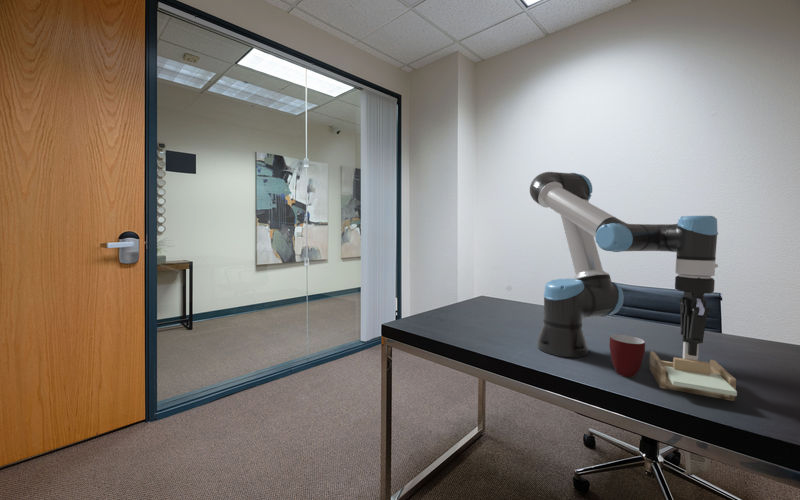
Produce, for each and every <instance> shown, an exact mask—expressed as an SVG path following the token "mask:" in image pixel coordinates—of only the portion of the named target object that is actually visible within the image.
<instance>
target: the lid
mask: <svg viewBox="0 0 800 500" xmlns="http://www.w3.org/2000/svg"><path fill="white" fill-rule="evenodd" d="M672 362H673V367H668V366H665V367H666V375H667V377H668V378H669V380H670V381H671V383H672V384H673V385H675V386H681V387H687V388H693V389H698V390H704V391H710V392H716V393H722V394H727V395H733V396H735V397H737V396H738V391H737V390H735V389H734V388H733V387H732V386H730V385H729V384H728V383H727V382H726V381H725V380H724V379H723V378H722V377H721V376H720V375H719V374H714V373H710V370H711V364H710V361H709V362H708V361H703V360H698V361H697V360H690V359H683V357H682V358H681V357H673V359H672Z"/></svg>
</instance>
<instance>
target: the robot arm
mask: <svg viewBox="0 0 800 500" xmlns="http://www.w3.org/2000/svg"><path fill="white" fill-rule="evenodd" d="M592 193H593V184H592V182H591V180H590V178H588V177H587V176H586V175H584V174H582V173H581V174H580V173H576V172H557V171H556V172H555V171H545V172H542V173H539V174H538V175H536V176H535V177H534V178H533V179H532V181H531V183H530V186H529V194H530V197H531V199H532V200H533V201H534V202H535V203H536V204H538V205H539V206H541V207H542V208H546V209H547V208H549V209H551V210H552V211H554V212H555V213H556V214H559V215H560V218H561V221H562V225H563V226H562V227H563V230H564V233H565V239H566V242H567V245H568V249H569V254H570V258H571V260H572V265H573V269H574V273H575V276H574V277H573V278H558V279H552V280H550V281H547V282H546V283H545V285H544V292H543V324H542V328H541V329H540V332H539V334H538V337H537V341H536V342H537V343H536V345H537V348H538V349H539V350H541V351H542V352H544V353H547V354H550V355H554V356H557V357H564V358H581V357H585V356H587V355H588V344H587V341H586V338H585V335H584V331H583V318H597V317H600V318H601V317H607V316H612V315H614V314H617V313H618V312H619V311H620V310H621V308H622V306H623V304H624V299H625V296H624V293H623V292H624V291H623V289H622V288H621V286H620V285H618V284H617V283H616V282H614V281H612V279H611V275H610V273H609V272H606V271H605V270H604V269H603V266H602V262H601V258H600V255H599V251H598V247H599V248H600V249H601V250H604V251H605V252H613V253H620V252H670V253H676V259H675V274H677V275H676V276H675V278H674V280H675V281H674V282H675V283H674V289H675V290H676V291H679V292H683V294H682V295H683V297H682V296H681V298H679V299H678V302H679V308H680V311H679V312H680V335H681V336H682V343H683V344H682V345H683V346H682V358H683V359H690V360H697V361H699V351H700V350H699V349H700V348H699V347H700V344H703V343H704V336H705V330H706V324H707V317H708V314H709V313H710V309H709V307H707V302H706V301H707V300H706V299H705V294H709V295H710V294H712V293H714V292H715V279H714V278H713V277H714V276H715V275H716V274H715V272H716V269H717V268H718V267H719V264H718V263H716V259H717V258H716V256H717V254H716V253H717V241H718V235H719V232H718V219H717V217H715V216H713V215H683V216H680V217H678V221H677V222H676V223H674V224H672V223H671V224H667V223H666V224H661V223H660V224H655V223H653V224H646V223H641V224H640V223H635V224H634V223H626V222H624V220H621V219H619V218H617V217H616V216H614V215H612V214H610V213H608V212H606V211H605V210H603V209H601V208H600V207H598V206H596V205H594V204H592V203H591V202H589V201H590V199H591V197H592ZM597 246H598V247H597Z"/></svg>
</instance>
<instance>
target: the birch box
mask: <svg viewBox="0 0 800 500" xmlns="http://www.w3.org/2000/svg"><path fill="white" fill-rule="evenodd" d="M709 363H710V364H711V370H710V373H714V374H719V375H720V376H721V377H722V378H723V379H724V380H725V381H726V382H727V383H728V384H729V385H730V386H732V387H733V388H734V389H735V390H736V387H737V379H736V378H735V377H734V376H733V375H732V374H730V373H729V372H728V371H727V370H726V369H725V368H724V367H723V366H722V365H721V364H719V362H717V361H716V360H715V359H709ZM665 366H668V367H673V361H667V360H661V359H660V357H659V356H658V355H657V353H656V352H655V351H650V352H649V365H648V367H649V369H648V370H649V371H650V373H651V374H652V376H653V377H654V380H655V381H656V383H657V384H658V386H659V388H660V389H665V390H670V391H677V392H683V393H688V394H694V395H699V396H703V397H704V396H705V397H711V398H715V399H722V400H727V401H732V402H734V401H736V396H733V395H727V394H722V393H716V392H710V391H704V390H698V389H693V388H687V387H681V386H675V385H673V384H672V383H671V381H670V380H669V378H668V377H667V375H666V367H665ZM736 391H737V390H736Z"/></svg>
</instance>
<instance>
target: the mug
mask: <svg viewBox="0 0 800 500" xmlns="http://www.w3.org/2000/svg"><path fill="white" fill-rule="evenodd" d="M609 351H610V353H609V354H610V358H611V363H612V366H613V368H614V370H615V371H616V374H618V375H619V376H621V377H624V378H633V377H635V376H636V375H637V374H638V372H639V371H640V370H641V368H642V367H641V366H642V363H643V359H644V356H645V353H646V352H645V351H646V341H645V340H644V339H642V338H639V337H637V336H636V337H635V336H633V335H626V334H611V335H610V336H609Z"/></svg>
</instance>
